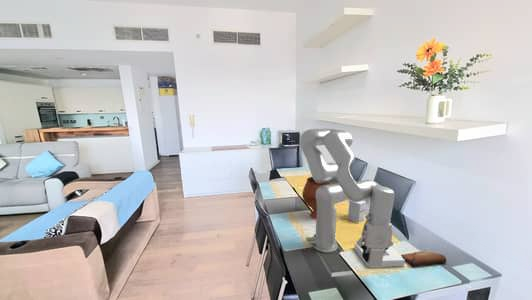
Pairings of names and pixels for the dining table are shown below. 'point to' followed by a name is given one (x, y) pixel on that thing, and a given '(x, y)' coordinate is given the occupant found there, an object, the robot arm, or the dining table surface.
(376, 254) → the plug
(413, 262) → the sunglasses case
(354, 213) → the supplement box
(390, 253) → the socket plate
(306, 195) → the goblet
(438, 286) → the dining table surface
